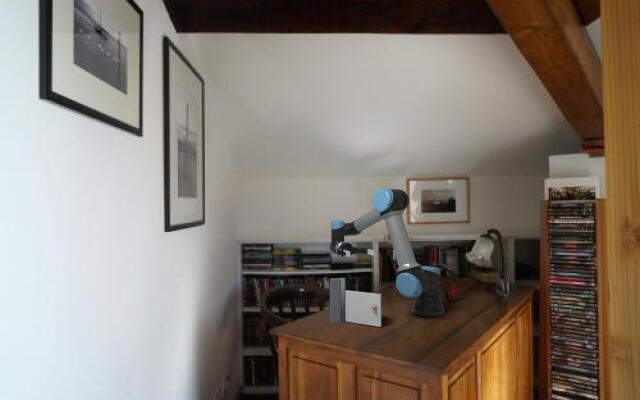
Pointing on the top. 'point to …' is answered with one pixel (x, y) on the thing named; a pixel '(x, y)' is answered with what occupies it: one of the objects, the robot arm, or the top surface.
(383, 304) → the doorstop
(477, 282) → the top surface
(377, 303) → the door
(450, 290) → the headphones
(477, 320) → the top surface
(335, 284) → the wall frame
